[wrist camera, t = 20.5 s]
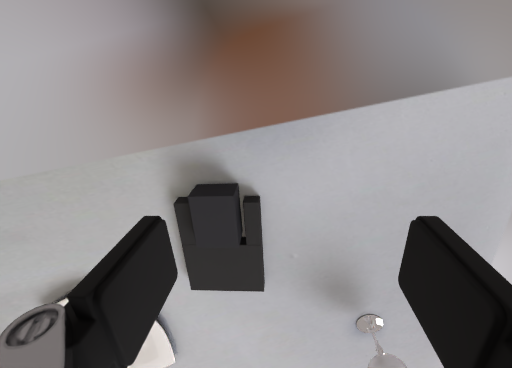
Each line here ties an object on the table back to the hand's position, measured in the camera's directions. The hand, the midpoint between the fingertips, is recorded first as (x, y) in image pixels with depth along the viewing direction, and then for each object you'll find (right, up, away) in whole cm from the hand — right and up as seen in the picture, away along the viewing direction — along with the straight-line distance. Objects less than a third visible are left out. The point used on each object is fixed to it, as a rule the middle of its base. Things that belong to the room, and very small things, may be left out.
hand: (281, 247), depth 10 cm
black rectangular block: (-6, -1, +27) cm, 28 cm away
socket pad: (-6, -7, +29) cm, 31 cm away
